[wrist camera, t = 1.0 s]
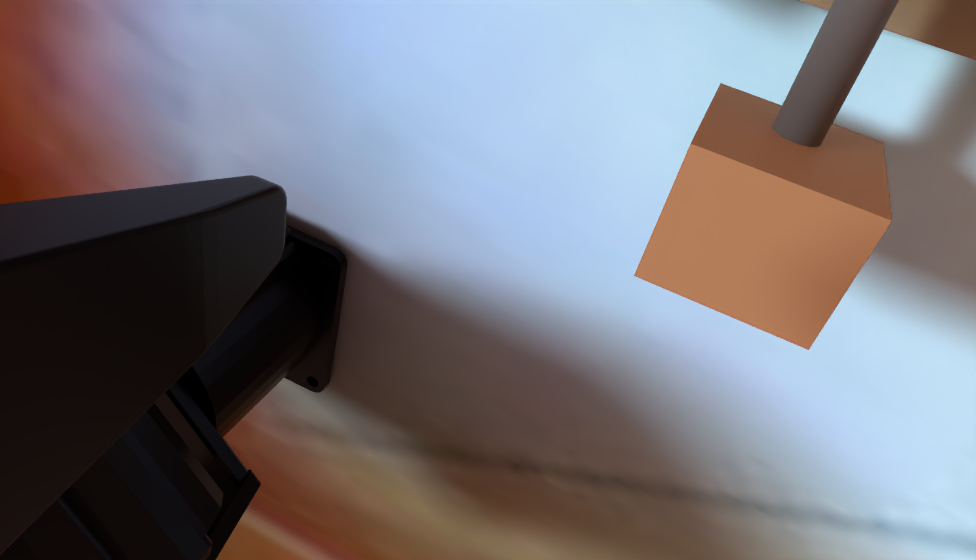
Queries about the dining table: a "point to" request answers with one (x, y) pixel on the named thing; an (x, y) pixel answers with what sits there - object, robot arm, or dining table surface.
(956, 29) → the tray
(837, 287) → the tethered block
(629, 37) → the dining table surface
